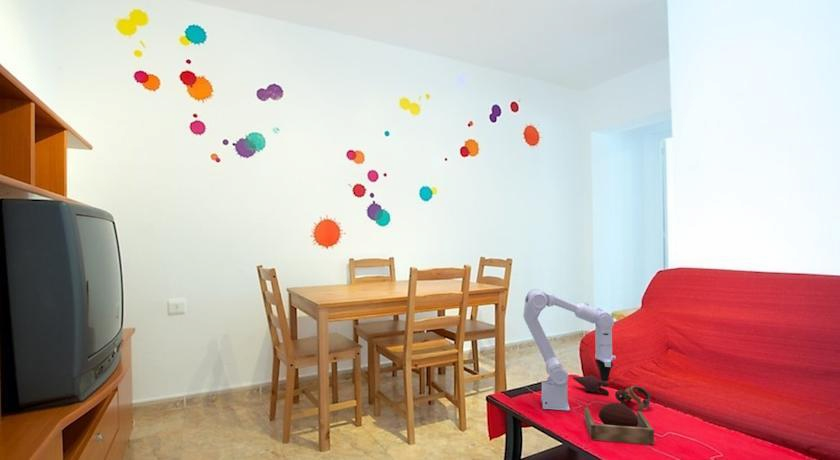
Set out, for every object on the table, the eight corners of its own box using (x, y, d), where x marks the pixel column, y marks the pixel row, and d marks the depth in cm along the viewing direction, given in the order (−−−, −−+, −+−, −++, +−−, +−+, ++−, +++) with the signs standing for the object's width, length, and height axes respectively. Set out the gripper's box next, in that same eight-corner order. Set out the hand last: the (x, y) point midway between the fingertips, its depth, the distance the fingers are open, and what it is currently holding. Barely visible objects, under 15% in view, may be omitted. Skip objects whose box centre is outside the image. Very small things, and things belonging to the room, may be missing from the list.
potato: (635, 442, 133) (634, 412, 134) (595, 431, 141) (594, 403, 141) (641, 431, 140) (641, 403, 140) (603, 422, 148) (602, 395, 148)
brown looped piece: (635, 400, 167) (646, 385, 163) (646, 421, 159) (657, 405, 155) (607, 394, 166) (616, 378, 162) (616, 414, 158) (626, 398, 154)
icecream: (568, 374, 178) (605, 386, 168) (576, 366, 183) (612, 377, 173) (569, 389, 180) (605, 401, 169) (576, 380, 185) (612, 392, 174)
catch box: (591, 439, 136) (591, 425, 136) (584, 420, 149) (584, 407, 149) (654, 444, 132) (653, 429, 132) (641, 424, 145) (640, 411, 145)
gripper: (619, 349, 152) (620, 388, 152) (611, 339, 166) (611, 374, 166) (598, 348, 154) (599, 386, 154) (591, 338, 168) (592, 373, 168)
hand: (604, 380), depth 160 cm, fingers closed
